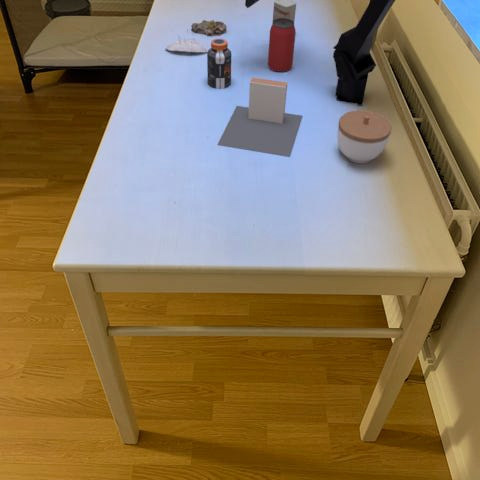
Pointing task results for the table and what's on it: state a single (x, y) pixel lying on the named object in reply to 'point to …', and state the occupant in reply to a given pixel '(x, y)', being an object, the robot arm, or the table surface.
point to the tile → (267, 100)
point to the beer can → (281, 45)
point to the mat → (260, 133)
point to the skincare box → (284, 10)
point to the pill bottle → (219, 64)
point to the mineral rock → (209, 28)
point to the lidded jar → (363, 135)
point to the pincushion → (187, 46)
